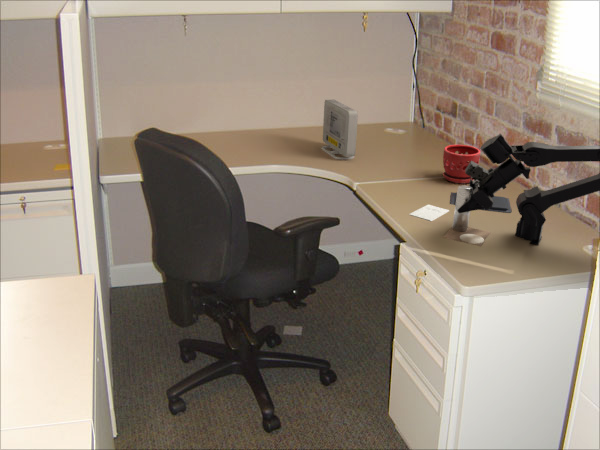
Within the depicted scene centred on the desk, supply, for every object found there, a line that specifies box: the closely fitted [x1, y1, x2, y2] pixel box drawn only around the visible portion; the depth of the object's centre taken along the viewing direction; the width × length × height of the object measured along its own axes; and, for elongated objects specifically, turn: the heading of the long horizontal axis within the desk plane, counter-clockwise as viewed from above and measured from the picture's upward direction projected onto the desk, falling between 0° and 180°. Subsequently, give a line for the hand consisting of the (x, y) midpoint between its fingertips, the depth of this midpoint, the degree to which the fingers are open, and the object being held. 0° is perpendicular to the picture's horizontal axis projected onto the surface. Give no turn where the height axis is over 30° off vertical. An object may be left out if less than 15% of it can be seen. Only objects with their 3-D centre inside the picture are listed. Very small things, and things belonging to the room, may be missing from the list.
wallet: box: [449, 191, 512, 214], centre depth 215 cm, size 20×2×15 cm
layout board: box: [442, 225, 491, 247], centre depth 187 cm, size 11×12×1 cm
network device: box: [320, 99, 359, 161], centre depth 262 cm, size 26×9×20 cm, turn 20°
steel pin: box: [451, 184, 473, 232], centre depth 188 cm, size 4×4×13 cm
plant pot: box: [442, 144, 482, 184], centre depth 235 cm, size 13×13×12 cm
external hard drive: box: [408, 204, 450, 222], centre depth 203 cm, size 2×8×12 cm
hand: (458, 207), depth 188 cm, fingers open, 7 cm apart
